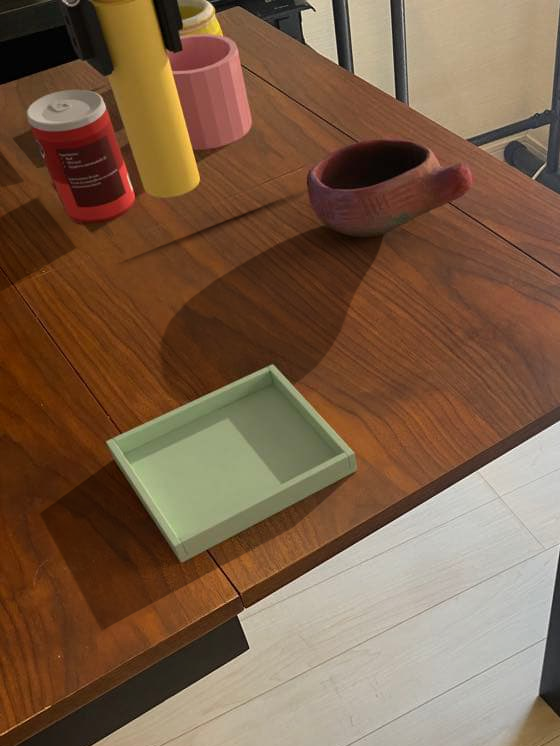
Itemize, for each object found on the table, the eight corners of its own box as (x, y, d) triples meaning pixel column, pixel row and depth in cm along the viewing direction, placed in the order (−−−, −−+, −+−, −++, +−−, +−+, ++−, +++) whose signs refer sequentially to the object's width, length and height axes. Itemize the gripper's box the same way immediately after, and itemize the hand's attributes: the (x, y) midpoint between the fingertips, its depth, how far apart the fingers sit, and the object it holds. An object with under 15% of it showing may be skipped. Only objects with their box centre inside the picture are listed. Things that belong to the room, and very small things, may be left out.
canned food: (96, 184, 96) (59, 84, 87) (152, 197, 93) (120, 95, 85) (51, 219, 92) (8, 117, 83) (108, 233, 89) (70, 129, 80)
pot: (188, 163, 97) (166, 82, 90) (151, 130, 103) (128, 51, 96) (268, 134, 101) (253, 54, 94) (228, 103, 106) (211, 25, 99)
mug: (249, 71, 112) (229, -33, 102) (183, 102, 107) (156, -4, 98) (191, 48, 118) (167, -52, 108) (126, 76, 113) (96, -26, 104)
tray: (181, 563, 61) (173, 546, 59) (113, 458, 68) (105, 441, 66) (357, 470, 66) (354, 452, 64) (277, 381, 73) (272, 363, 71)
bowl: (312, 265, 83) (299, 189, 77) (315, 197, 91) (303, 123, 85) (473, 253, 83) (474, 175, 77) (462, 185, 91) (462, 110, 85)
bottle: (158, 204, 58) (86, -26, 47) (135, 181, 60) (61, -44, 49) (209, 184, 59) (151, -45, 48) (185, 162, 61) (124, -61, 51)
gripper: (143, -391, 43) (224, 4, 58) (-193, -344, 38) (-12, 78, 53) (208, -387, 39) (278, 36, 54) (-157, -333, 34) (28, 120, 49)
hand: (134, 53), depth 53 cm, fingers closed on bottle, 4 cm apart
